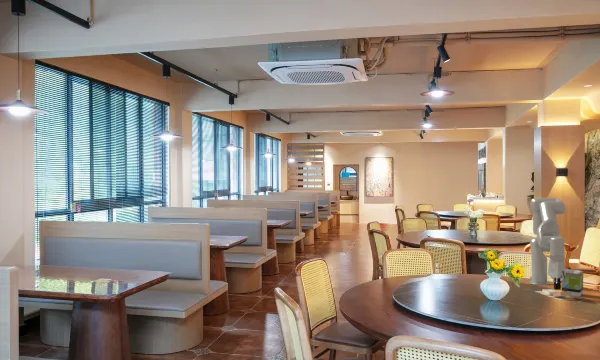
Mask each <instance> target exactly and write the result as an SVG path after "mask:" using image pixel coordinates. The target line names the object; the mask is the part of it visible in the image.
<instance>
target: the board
mask: <svg viewBox="0 0 600 360" xmlns="http://www.w3.org/2000/svg"><path fill="white" fill-rule="evenodd" d="M534 292H535V293H538V294H541V295H544V296H546V297H549V298H552V299H555V300H557V301H561V300H562V301H563V300H565V301H566V300H567V301H570V300H571V301H574V300H576V299H575V298H572V297H570V296H565V297H554V296H553V295H548V294H545V293H543V292H542V291H541V290H536V291H535V290H534Z"/></svg>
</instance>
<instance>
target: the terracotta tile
mask: <svg viewBox="0 0 600 360" xmlns="http://www.w3.org/2000/svg"><path fill="white" fill-rule="evenodd" d="M553 296H554V297H565V296H567V297H570V296H571V293H570V292H562V291H558V293H554V294H553Z"/></svg>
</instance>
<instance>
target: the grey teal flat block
mask: <svg viewBox="0 0 600 360" xmlns="http://www.w3.org/2000/svg"><path fill="white" fill-rule="evenodd" d="M542 292H543V293H545V294H548V295H553V294H554V293H558V292H559V290H555V289H552V288H551V289H547V288H546V289H542Z"/></svg>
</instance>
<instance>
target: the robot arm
mask: <svg viewBox="0 0 600 360" xmlns="http://www.w3.org/2000/svg"><path fill="white" fill-rule="evenodd" d="M529 205H530V209H531V213H532V219H533V220H532V231H533V232H532V233H533V235H535V236H536V237H532V238H531V239H530V242H529V245H530V251H531V253H530V254H531V276H530V277H529V279H530V280H529V282H528V283H529V284H531V285H534V286H550V285H551V283H550V282H549V281H548V276H549V277H550V278H551V279H552V282H553V290H555V291H560V290H561V291H562V281H564V278H565V277H566V269H567V268H566V262H565V257H566V256H565V249H566V248H565V238H564V237H562V236H561V234H560V225H559V223H558V216H557V215H564V214H565V212H566V205H565V202H564V201H563V200H561V199H560V198H558V197H556V198H555V197H534V198H532V199H531V200H530V204H529ZM545 253H549V260H548V257H547V256H546V254H545ZM548 261H549V262H548Z"/></svg>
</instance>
